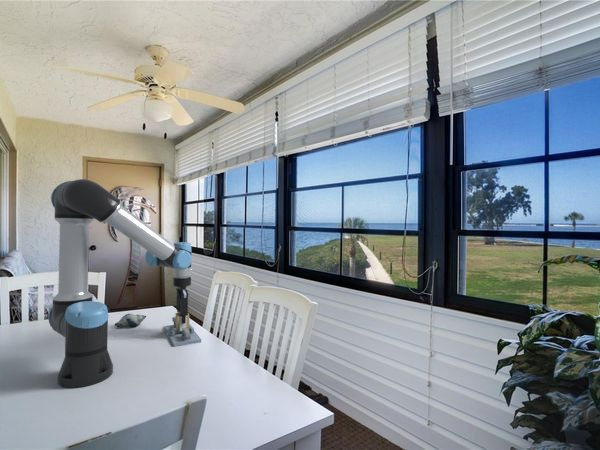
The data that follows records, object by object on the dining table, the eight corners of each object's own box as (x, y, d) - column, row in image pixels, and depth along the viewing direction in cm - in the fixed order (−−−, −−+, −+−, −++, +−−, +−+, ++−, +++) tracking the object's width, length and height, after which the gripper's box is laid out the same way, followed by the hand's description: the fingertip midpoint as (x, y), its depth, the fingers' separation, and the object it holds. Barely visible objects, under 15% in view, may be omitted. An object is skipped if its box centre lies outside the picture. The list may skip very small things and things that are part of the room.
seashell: (122, 328, 163) (145, 329, 162) (112, 326, 157) (136, 326, 155) (125, 314, 166) (148, 315, 164) (116, 312, 159) (139, 313, 158)
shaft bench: (201, 342, 142) (201, 330, 141) (173, 346, 136) (174, 334, 136) (187, 325, 164) (187, 315, 164) (163, 328, 158) (164, 318, 158)
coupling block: (189, 329, 149) (189, 312, 149) (177, 331, 147) (177, 313, 147) (187, 326, 154) (186, 309, 153) (175, 328, 151) (175, 311, 151)
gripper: (195, 279, 144) (195, 333, 144) (186, 273, 159) (186, 321, 160) (177, 280, 140) (176, 335, 140) (169, 274, 156) (169, 324, 156)
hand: (181, 328), depth 150 cm, fingers closed on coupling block, 5 cm apart
